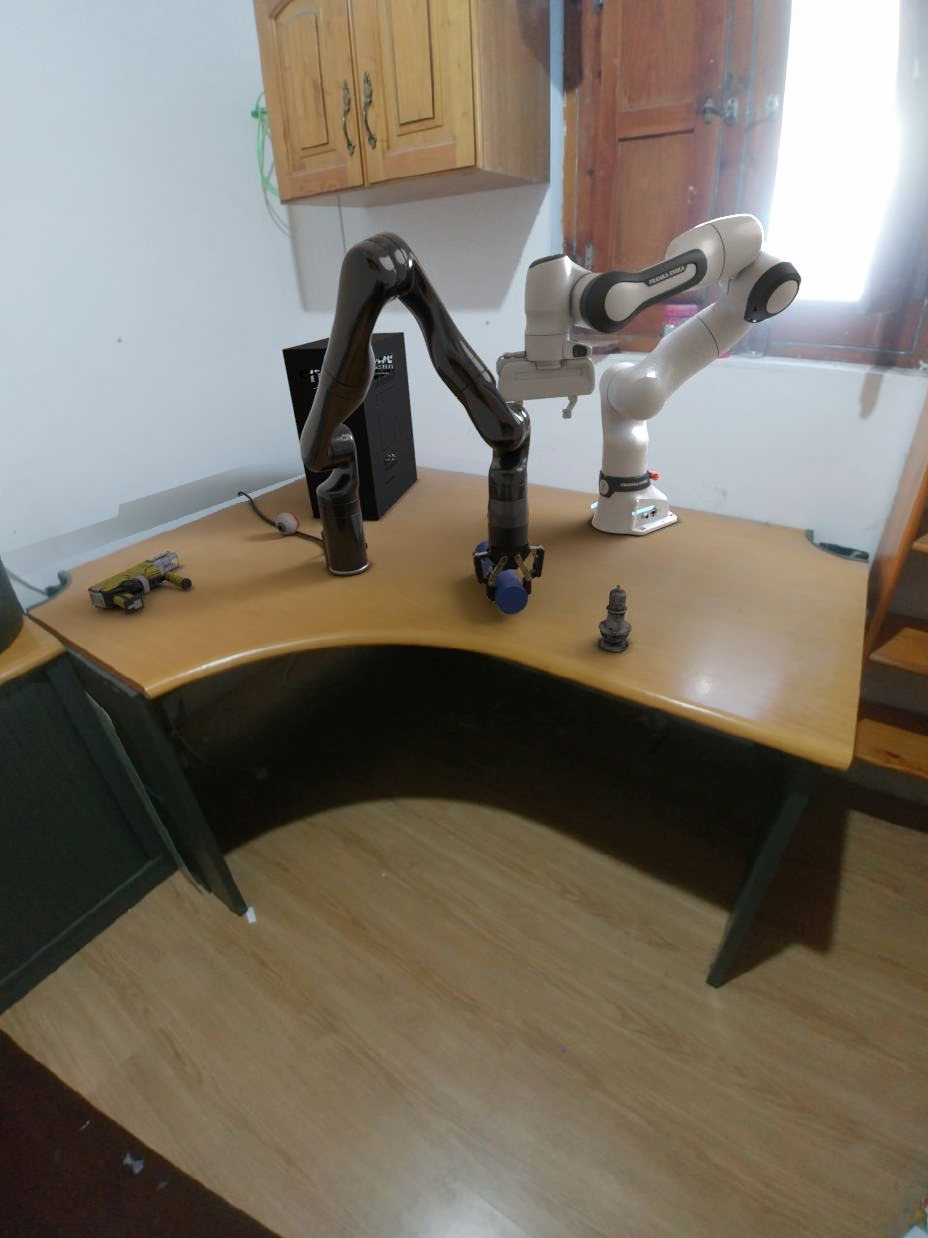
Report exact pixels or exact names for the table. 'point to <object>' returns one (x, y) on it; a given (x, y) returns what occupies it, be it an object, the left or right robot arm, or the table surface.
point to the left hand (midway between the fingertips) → (508, 598)
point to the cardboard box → (364, 422)
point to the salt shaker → (615, 623)
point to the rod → (505, 587)
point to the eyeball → (287, 523)
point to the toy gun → (136, 583)
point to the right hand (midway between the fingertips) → (545, 420)
